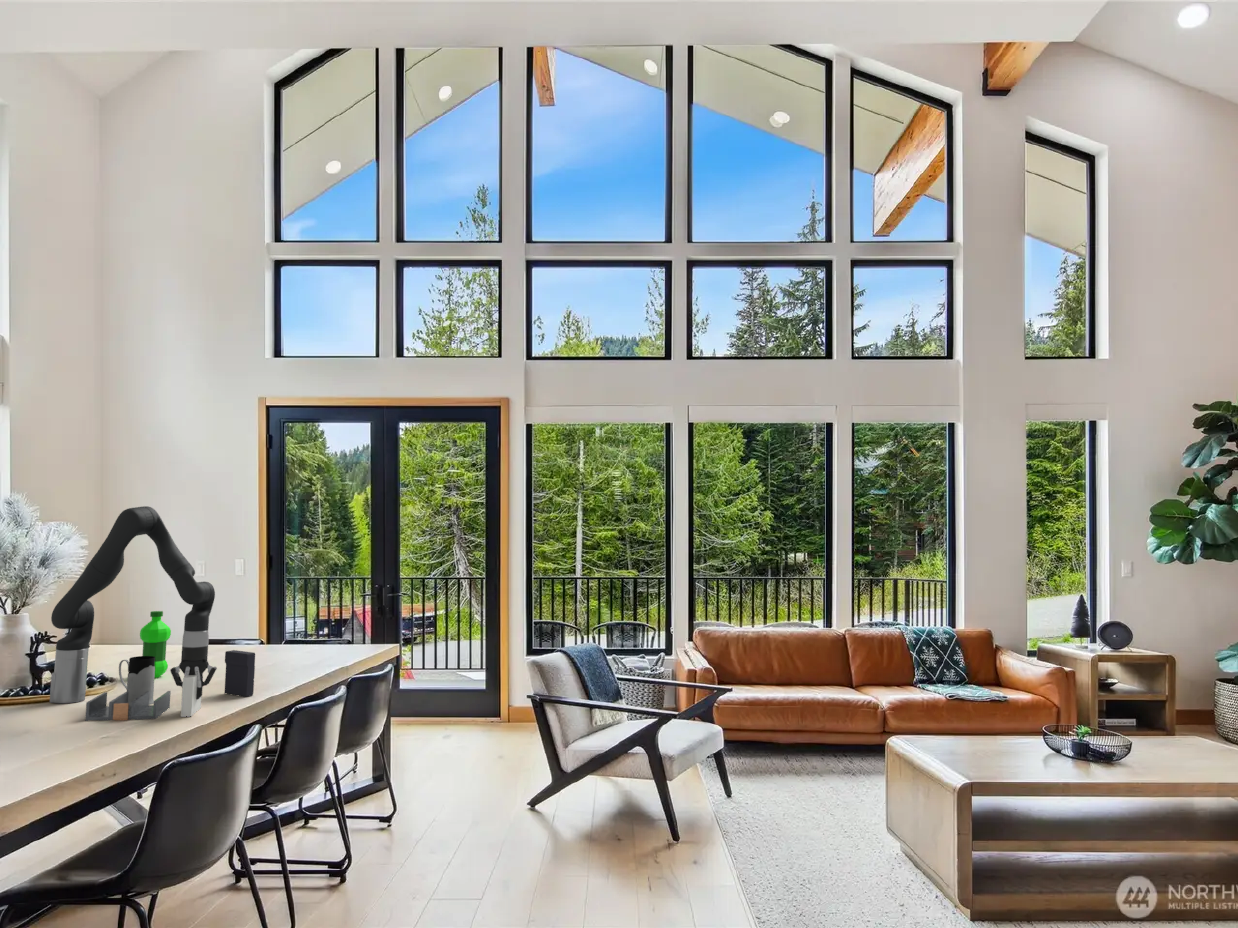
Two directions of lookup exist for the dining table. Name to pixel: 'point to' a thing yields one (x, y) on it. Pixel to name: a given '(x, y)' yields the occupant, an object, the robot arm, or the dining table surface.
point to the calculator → (239, 673)
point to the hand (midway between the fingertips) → (191, 698)
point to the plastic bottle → (156, 641)
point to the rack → (126, 707)
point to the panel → (189, 696)
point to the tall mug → (139, 677)
